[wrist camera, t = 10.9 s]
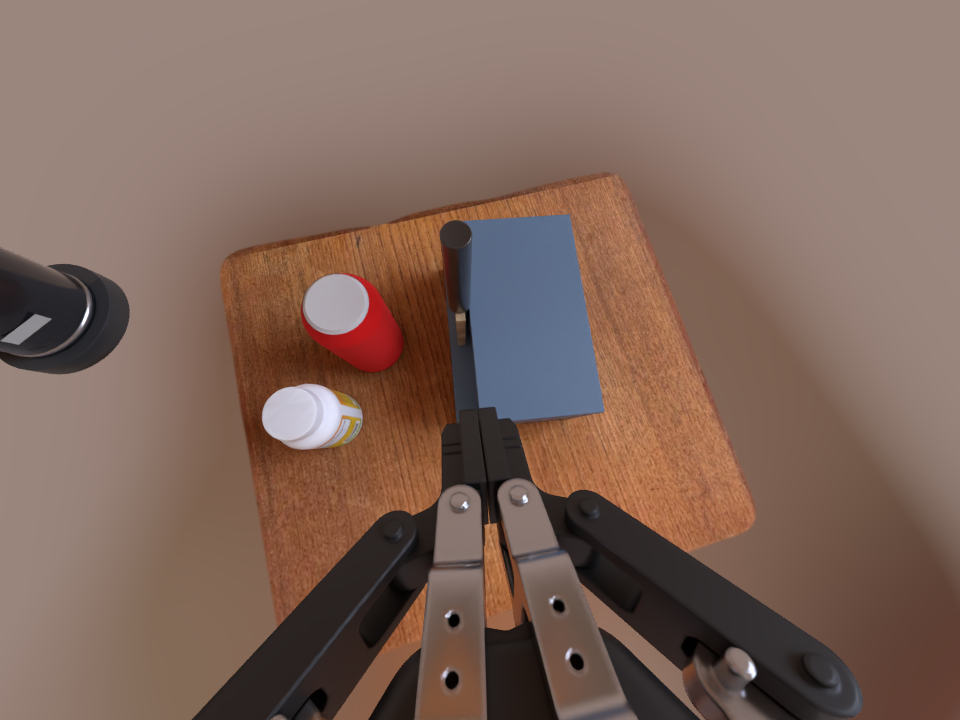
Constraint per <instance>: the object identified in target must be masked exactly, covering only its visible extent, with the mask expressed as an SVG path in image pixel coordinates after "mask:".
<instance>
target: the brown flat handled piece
mask: <svg viewBox="0 0 960 720" xmlns="http://www.w3.org/2000/svg"><path fill="white" fill-rule="evenodd" d="M440 243H441V251H442V258H443V266H444V274H445V282H446V290H447V298H448V305H449V308H450V310H451V311H452V312H454V313H455V318H456V329H457V341H458V346H463V345H466V319H465V312H466V311H467V310H468V309H469V307H470V292H471V262H472V231H471V228H470V227H469V226H468V225H467V224H466V223H464V222H462V221H459V220H453V221H449V222H447V223H446V224H445V225H444V226H443V227H442V228H441V230H440Z"/></svg>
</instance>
